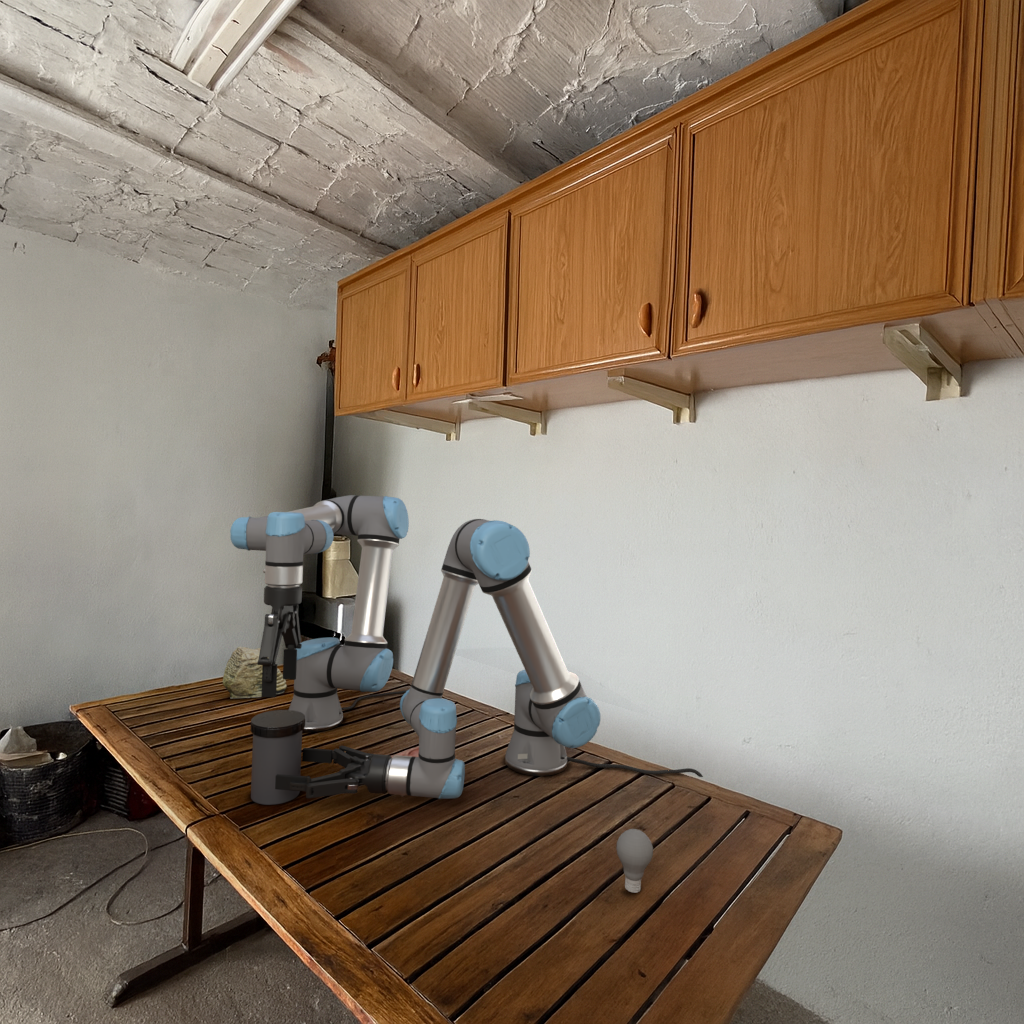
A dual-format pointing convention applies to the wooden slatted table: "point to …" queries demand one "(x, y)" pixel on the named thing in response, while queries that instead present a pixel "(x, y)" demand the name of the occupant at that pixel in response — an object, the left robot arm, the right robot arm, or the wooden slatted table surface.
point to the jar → (274, 767)
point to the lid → (277, 723)
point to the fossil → (247, 674)
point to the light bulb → (634, 857)
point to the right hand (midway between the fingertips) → (290, 767)
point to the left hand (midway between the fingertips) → (279, 687)
